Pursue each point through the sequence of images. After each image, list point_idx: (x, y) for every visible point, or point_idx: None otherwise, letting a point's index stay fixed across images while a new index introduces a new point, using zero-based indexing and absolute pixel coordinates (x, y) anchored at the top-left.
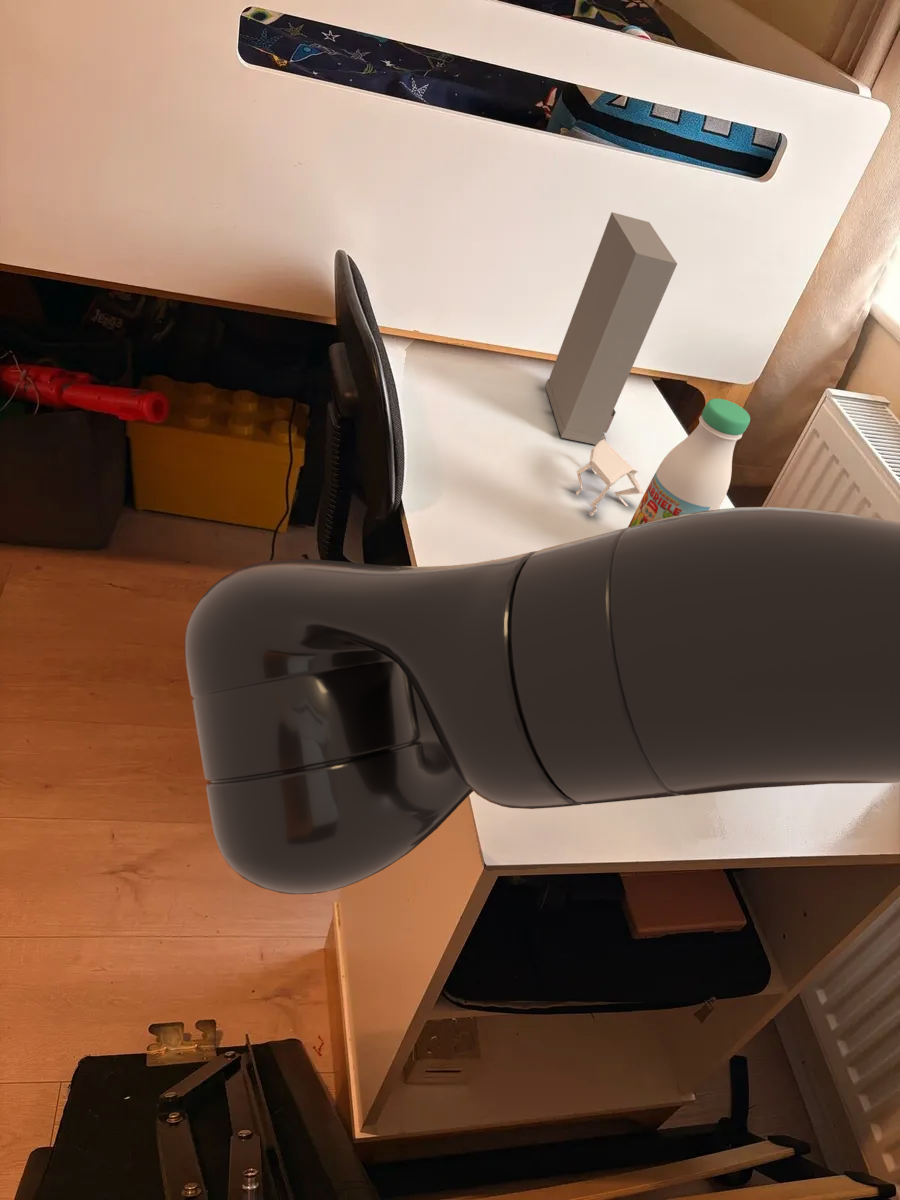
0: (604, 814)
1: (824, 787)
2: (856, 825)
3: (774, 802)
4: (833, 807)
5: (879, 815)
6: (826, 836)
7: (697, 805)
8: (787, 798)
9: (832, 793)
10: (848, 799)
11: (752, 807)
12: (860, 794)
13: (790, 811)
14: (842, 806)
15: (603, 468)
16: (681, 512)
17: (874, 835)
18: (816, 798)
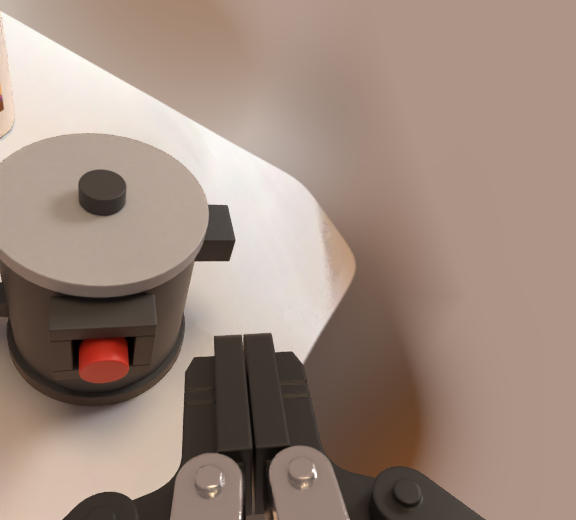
0: (159, 488)
1: (287, 248)
2: (329, 263)
3: (271, 300)
4: (306, 261)
5: (333, 238)
6: (323, 295)
7: None
8: (275, 286)
9: (295, 248)
10: (307, 243)
11: (262, 324)
12: (310, 230)
13: (286, 297)
14: (309, 254)
15: None
16: None
17: (344, 260)
18: (291, 264)
